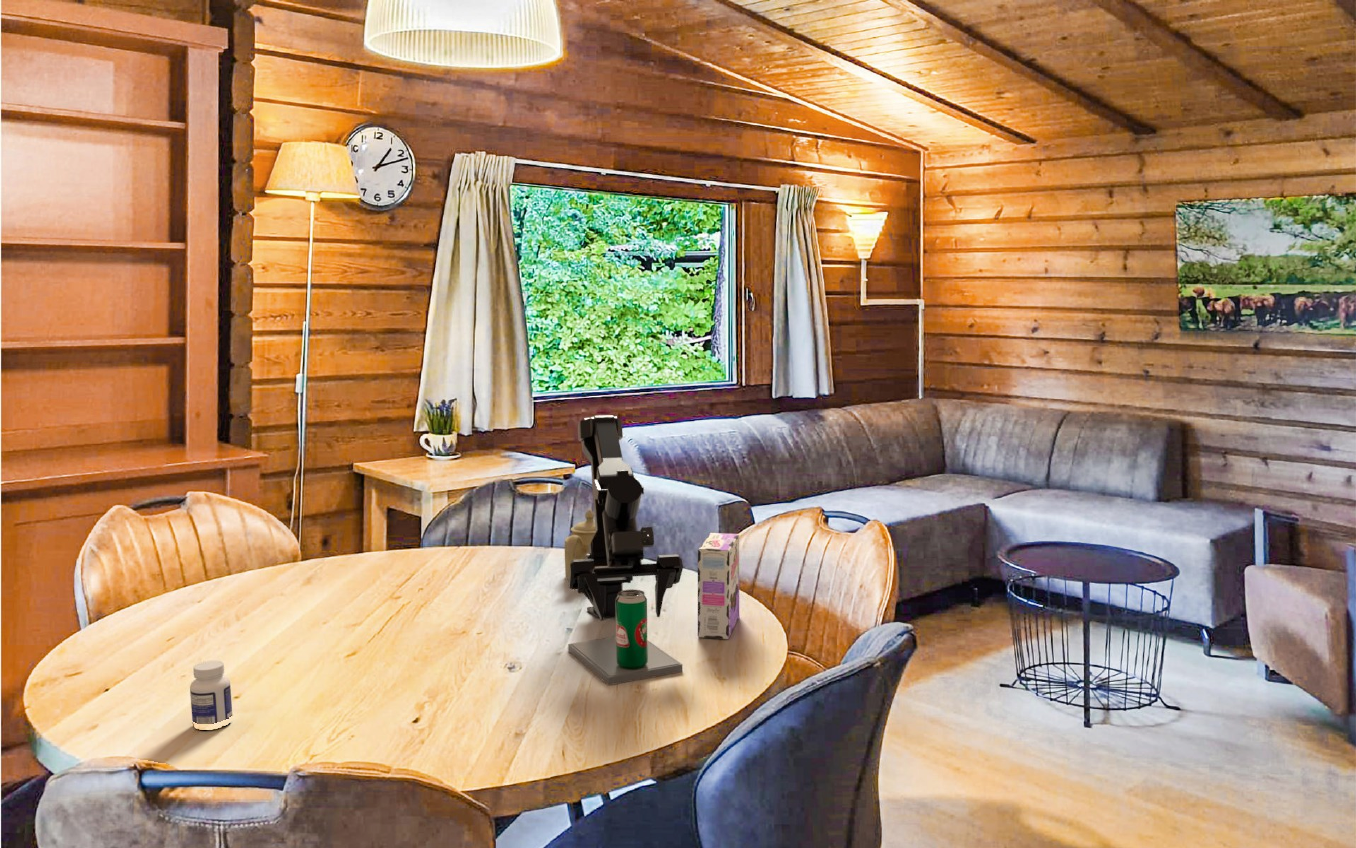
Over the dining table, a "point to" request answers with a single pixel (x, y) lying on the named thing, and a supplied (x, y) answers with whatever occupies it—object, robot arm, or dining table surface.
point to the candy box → (718, 585)
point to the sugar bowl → (579, 541)
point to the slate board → (605, 666)
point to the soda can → (631, 629)
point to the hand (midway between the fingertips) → (630, 617)
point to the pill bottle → (210, 693)
